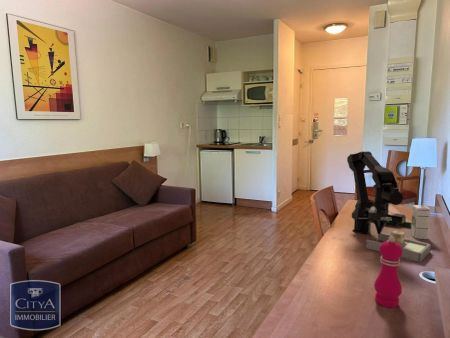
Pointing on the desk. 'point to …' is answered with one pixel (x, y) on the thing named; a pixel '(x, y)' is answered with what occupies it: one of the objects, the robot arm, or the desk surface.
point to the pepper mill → (389, 274)
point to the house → (401, 212)
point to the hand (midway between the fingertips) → (379, 234)
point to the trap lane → (403, 247)
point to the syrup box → (420, 222)
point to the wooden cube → (398, 236)
